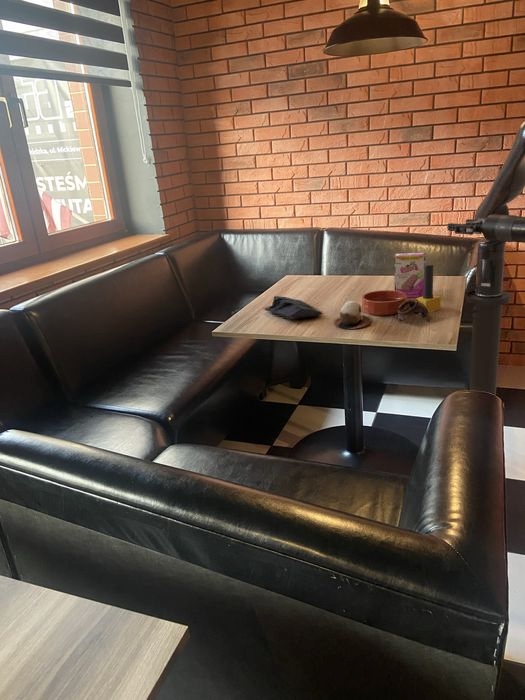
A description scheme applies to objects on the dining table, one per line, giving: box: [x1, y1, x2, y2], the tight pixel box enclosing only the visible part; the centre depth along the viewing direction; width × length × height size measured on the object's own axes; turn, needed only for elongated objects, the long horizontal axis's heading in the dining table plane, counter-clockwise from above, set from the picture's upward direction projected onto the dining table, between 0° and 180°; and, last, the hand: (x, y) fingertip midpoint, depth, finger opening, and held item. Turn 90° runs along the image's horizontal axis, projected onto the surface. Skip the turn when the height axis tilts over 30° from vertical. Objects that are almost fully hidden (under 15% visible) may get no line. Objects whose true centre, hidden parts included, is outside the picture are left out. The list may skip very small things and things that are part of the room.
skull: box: [334, 300, 372, 330], centre depth 179 cm, size 12×10×10 cm
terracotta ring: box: [361, 289, 408, 316], centre depth 190 cm, size 16×16×5 cm
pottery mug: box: [397, 298, 431, 323], centre depth 177 cm, size 12×10×8 cm
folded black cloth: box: [264, 295, 323, 320], centre depth 196 cm, size 15×22×5 cm
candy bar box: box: [393, 252, 426, 299], centre depth 200 cm, size 11×5×16 cm, turn 74°
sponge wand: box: [415, 263, 442, 314], centre depth 183 cm, size 7×5×16 cm
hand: (457, 224), depth 167 cm, fingers open, 8 cm apart
